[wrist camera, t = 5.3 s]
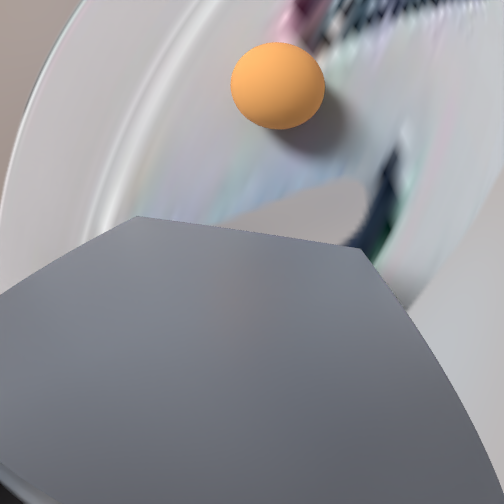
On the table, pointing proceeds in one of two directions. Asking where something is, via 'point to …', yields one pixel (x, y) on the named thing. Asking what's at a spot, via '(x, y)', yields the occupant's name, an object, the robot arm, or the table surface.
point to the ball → (277, 85)
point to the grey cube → (225, 378)
